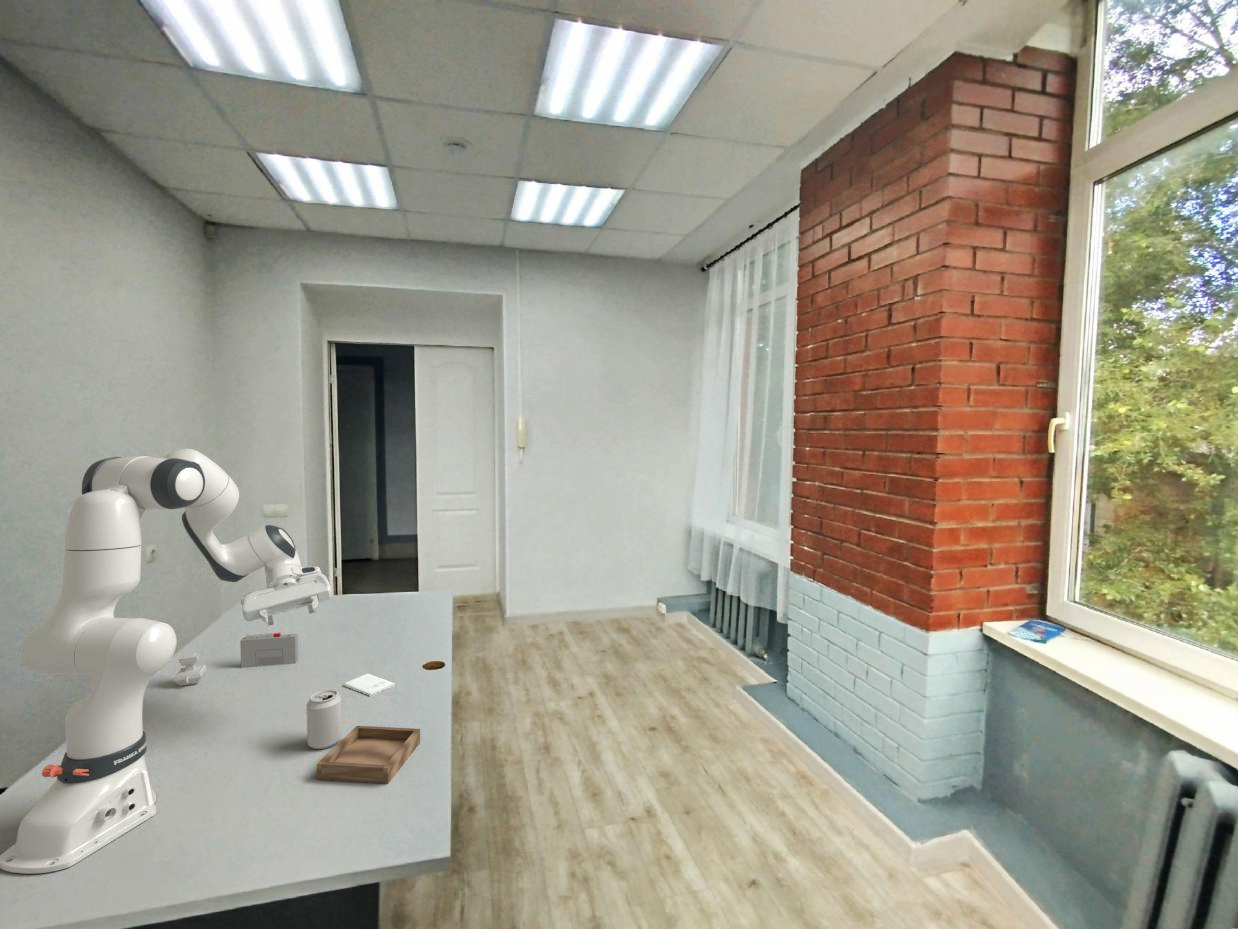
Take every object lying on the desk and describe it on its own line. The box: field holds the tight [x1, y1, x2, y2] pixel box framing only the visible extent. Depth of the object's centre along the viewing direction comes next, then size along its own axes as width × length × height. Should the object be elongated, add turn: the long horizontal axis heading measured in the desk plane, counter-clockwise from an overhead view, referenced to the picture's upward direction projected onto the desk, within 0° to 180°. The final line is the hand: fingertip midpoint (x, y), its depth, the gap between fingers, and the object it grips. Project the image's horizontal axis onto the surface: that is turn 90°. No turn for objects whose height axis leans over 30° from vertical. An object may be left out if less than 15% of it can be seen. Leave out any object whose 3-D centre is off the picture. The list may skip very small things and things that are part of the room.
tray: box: [316, 725, 421, 785], centre depth 129 cm, size 16×16×4 cm
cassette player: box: [239, 632, 299, 669], centre depth 182 cm, size 16×3×10 cm, turn 104°
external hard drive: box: [343, 673, 396, 697], centre depth 167 cm, size 2×8×12 cm
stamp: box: [173, 652, 208, 687], centre depth 168 cm, size 9×7×8 cm
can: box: [306, 689, 343, 750], centre depth 136 cm, size 8×8×12 cm
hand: (291, 617), depth 142 cm, fingers open, 8 cm apart
